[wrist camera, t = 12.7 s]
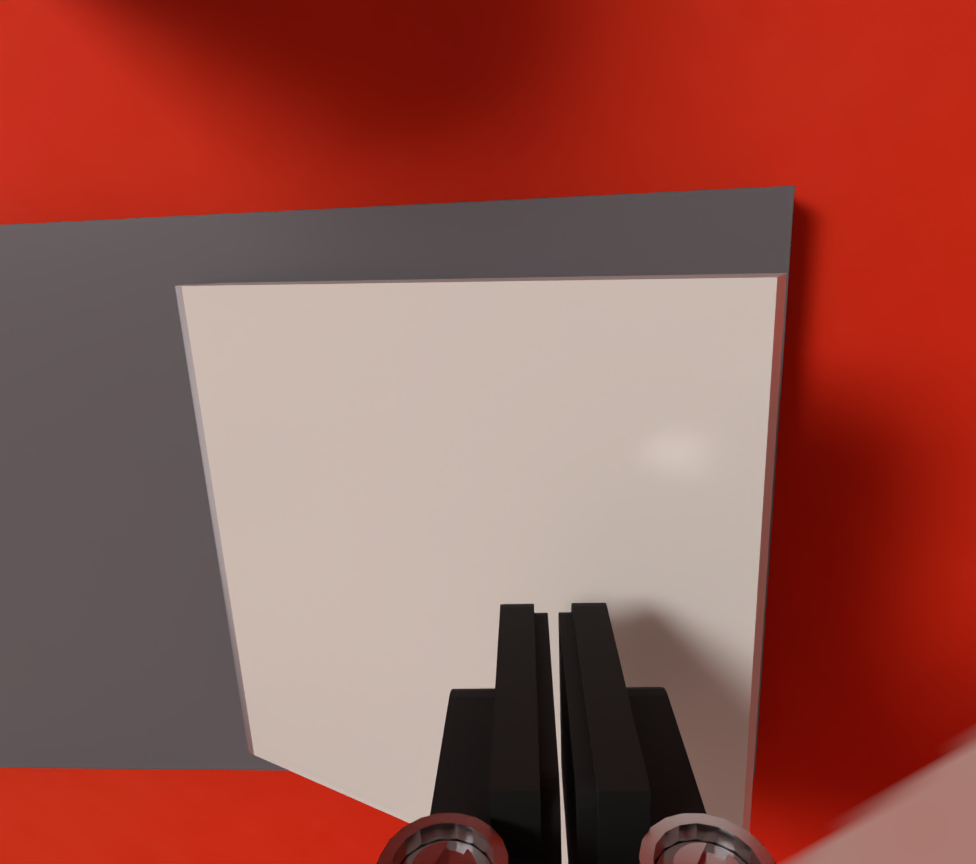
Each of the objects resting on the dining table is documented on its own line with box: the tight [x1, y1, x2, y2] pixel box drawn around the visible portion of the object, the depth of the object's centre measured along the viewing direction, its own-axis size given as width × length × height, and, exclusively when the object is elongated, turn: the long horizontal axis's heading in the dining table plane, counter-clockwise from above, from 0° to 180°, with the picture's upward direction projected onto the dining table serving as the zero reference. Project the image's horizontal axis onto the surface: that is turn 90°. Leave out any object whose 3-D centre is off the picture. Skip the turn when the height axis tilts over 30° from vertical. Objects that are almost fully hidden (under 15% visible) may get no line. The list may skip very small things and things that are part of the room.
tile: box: [175, 273, 787, 864], centre depth 14 cm, size 13×12×1 cm
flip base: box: [0, 186, 795, 775], centre depth 18 cm, size 26×15×1 cm, turn 93°
